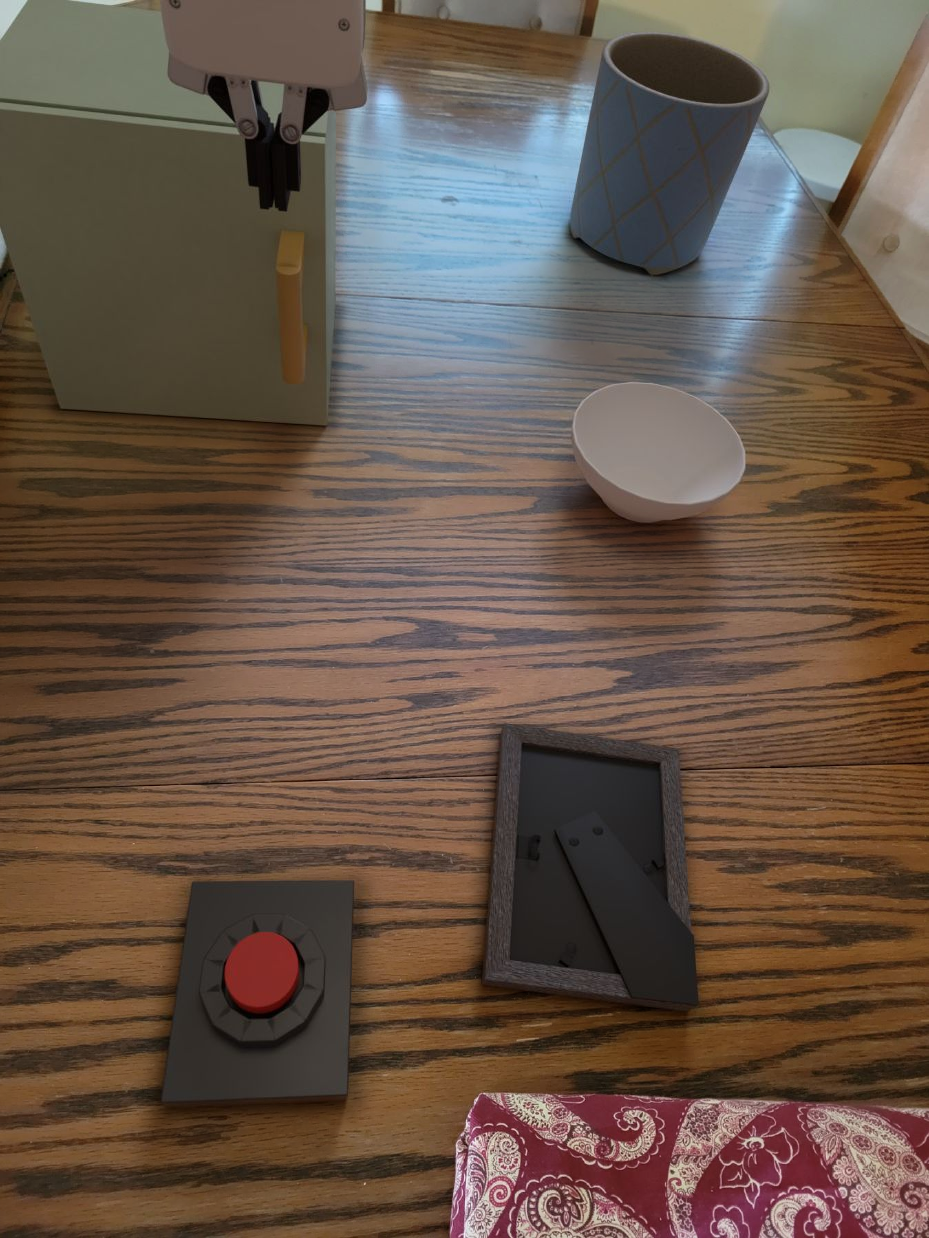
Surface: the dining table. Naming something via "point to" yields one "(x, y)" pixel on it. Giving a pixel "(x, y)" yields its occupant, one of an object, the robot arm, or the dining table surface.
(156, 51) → the cabinet
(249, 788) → the dining table surface
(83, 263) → the cabinet door
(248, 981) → the button
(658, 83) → the planter
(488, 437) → the dining table surface
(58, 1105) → the dining table surface
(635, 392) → the bowl
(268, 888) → the switch block
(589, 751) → the picture frame
